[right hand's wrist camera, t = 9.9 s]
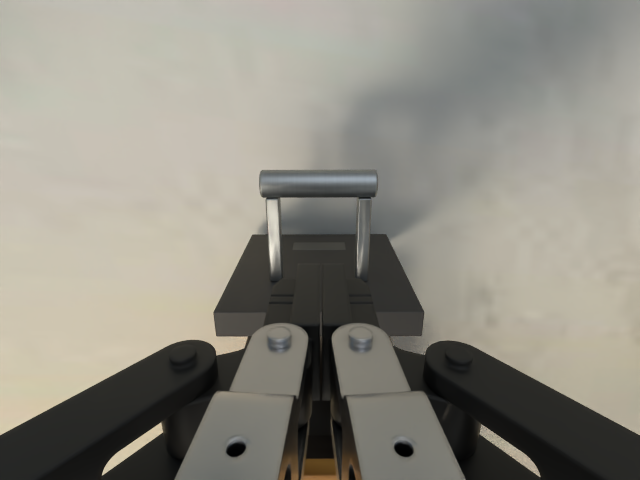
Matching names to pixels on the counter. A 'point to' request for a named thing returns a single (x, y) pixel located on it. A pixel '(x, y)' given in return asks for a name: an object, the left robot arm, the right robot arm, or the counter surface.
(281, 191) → the drawer
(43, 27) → the counter surface
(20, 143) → the counter surface
